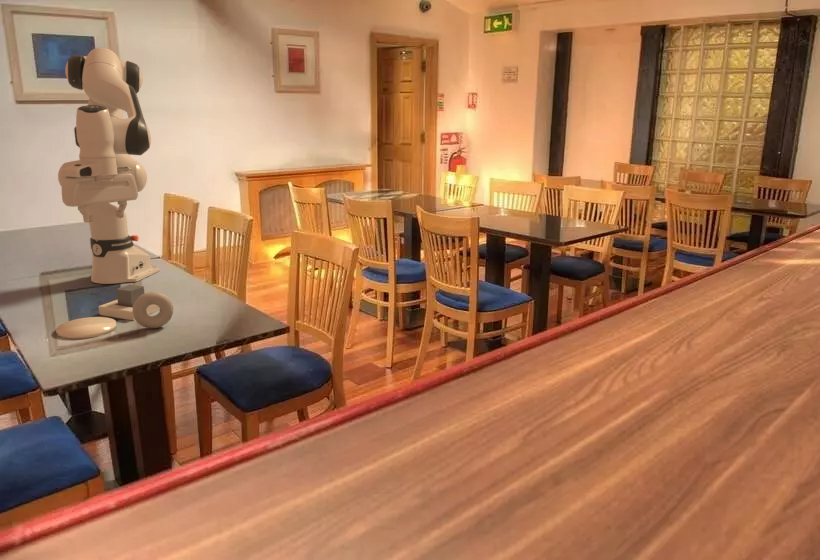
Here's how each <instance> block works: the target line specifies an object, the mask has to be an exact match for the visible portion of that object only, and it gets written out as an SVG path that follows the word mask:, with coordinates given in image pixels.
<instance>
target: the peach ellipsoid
mask: <svg viewBox="0 0 820 560" xmlns="http://www.w3.org/2000/svg"><path fill="white" fill-rule="evenodd" d="M116 328H117V320H115V319H114V318H113V317H111V318H110V317H108V316H89V317H82V318H81V317H80V318H75V319H72V320H69V321H65V322H63V323H62V324H60V325H58V326H57V327H56V328H55V331H56V335H57V336H58V337H59V338H61V339H62V338H63V339H68V340H69V339H70V340H83V339H91V338H96V337H102V336H103V335H104V336H105V335H107V334H109V333H111V332H113V331H114V330H115V329H116Z"/></svg>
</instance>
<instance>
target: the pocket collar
mask: <svg viewBox="0 0 820 560" xmlns="http://www.w3.org/2000/svg"><path fill="white" fill-rule="evenodd" d="M132 311H133V307H126V306H119V305H118V299H115V300H112V301H110V302H107V303H104V304H101V305H99V306H98V313H99V316H102V317H108V318H110V317H111V318H115V319H124V320H129V321H136V320H135V318H134V316H133V313H132ZM146 311H147V314H149V315H151V314H153V313H155V312H158V311H160V308H159V306H157V305H155V304H152V305H149V306H148V307H147V309H146Z"/></svg>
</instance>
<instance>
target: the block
mask: <svg viewBox="0 0 820 560" xmlns="http://www.w3.org/2000/svg"><path fill="white" fill-rule="evenodd" d="M144 293H145V286H143V285H135V284H128V285H125V286H121V287H118V288H116V297H117V299H118V305H119V306H126V307H133V305H134V303H135V301H136V300H137V298H138V297H139V296H141V295H143V294H144ZM117 299H116V300H117Z"/></svg>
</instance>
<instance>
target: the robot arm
mask: <svg viewBox="0 0 820 560" xmlns="http://www.w3.org/2000/svg"><path fill="white" fill-rule="evenodd" d="M64 70H65V71H64V73H65V76H66V77H65V78H66V79H67V81H68V84H69V85H70V86H71V87H72V88H74V89H77V90H80V91H83V90H84V93H85V94H86V96H87V97H88V102H87V104H86V105H81V106H80V107H78V108H76V116H75V117H76V120H75V127H74V128H73V129H74V130H73V132H74V138H75V139H74V140H75V145H76V146H77V147H78V149H79V153H78V154H79V155H78V158H79V159H77V160H70V161H68V162H64V163H63V164H61V166H60V167H59V170H58V173H57V180H58V183H59V185H60V186H61V198H62V203H63V204H64V205H65V206H66V207H73V208H75V207H77V210H78V211H79V213H80V214H81V215H82V220H83V222H84V223H88V224H89V230H90V236H91V237H90V238H89V241H90V242H89V243H90V250H91V252H92V257H91V258H92V261H91V263H92V266H91V267H92V269H91V278H90V282H91V283H96V284H102V285H103V284H104V285H109V284H110V285H112V284H113V285H114V284H122V283H135V282H139V281H141V280H144V279H145V278H147V277H149V276H152V275H154V274H156V273H158V272H160V271H161V270H160V268H159V267H157V266H154V265H152V260H151V257H150V255H149V254H148V253H147V252H146V251H143V250H142V249H140V248H138V247H137V246H135V244H134V242H139V238H140V237H139V235H137V234H136V235H135V234H132V235H129V229H128V218H127V214H126V213H125V210H126V208H127V205H128V201H136V200H137V199H138V197H139V193H140V192H142V191H143V190H144V188H145V186H146V184H147V181H148V175H147V171H146V169H145V167H144V166H143V165H142V164H141V163H140V162H138V161H137V160H136V159H134V158H133V157H132V155H133V156H142V155H143V154H145V153H146V152H147V151H148V150H150V148H151V143H152V140H151V139H152V138H151V133H150V130H149V127H148V125H147V123H146V121H145V118H144V114H143V111H142V108H141V105H140V100H139V97H138V93H139V92H140V90H141V87H142V85H143V74H142V72H141V68H140V66H139V65H138V64H137V63H135V62H133V61H129V60H126V61H125V60H121V59H120V58H119V56H118V55H117V54H116V53H115V52H114V51H113V50H112V49H109V48H105V47H96V48H93V49H91V50H90V51H89V52H88V54H87V55H83V54H76V55H72V56H70V57H69V58H68V59H67V62H66V64H65V68H64ZM124 112H125V113H126V115H127V118H124V115H123V113H124ZM112 203H117V205H119V206H117V205H115V204H112Z"/></svg>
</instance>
